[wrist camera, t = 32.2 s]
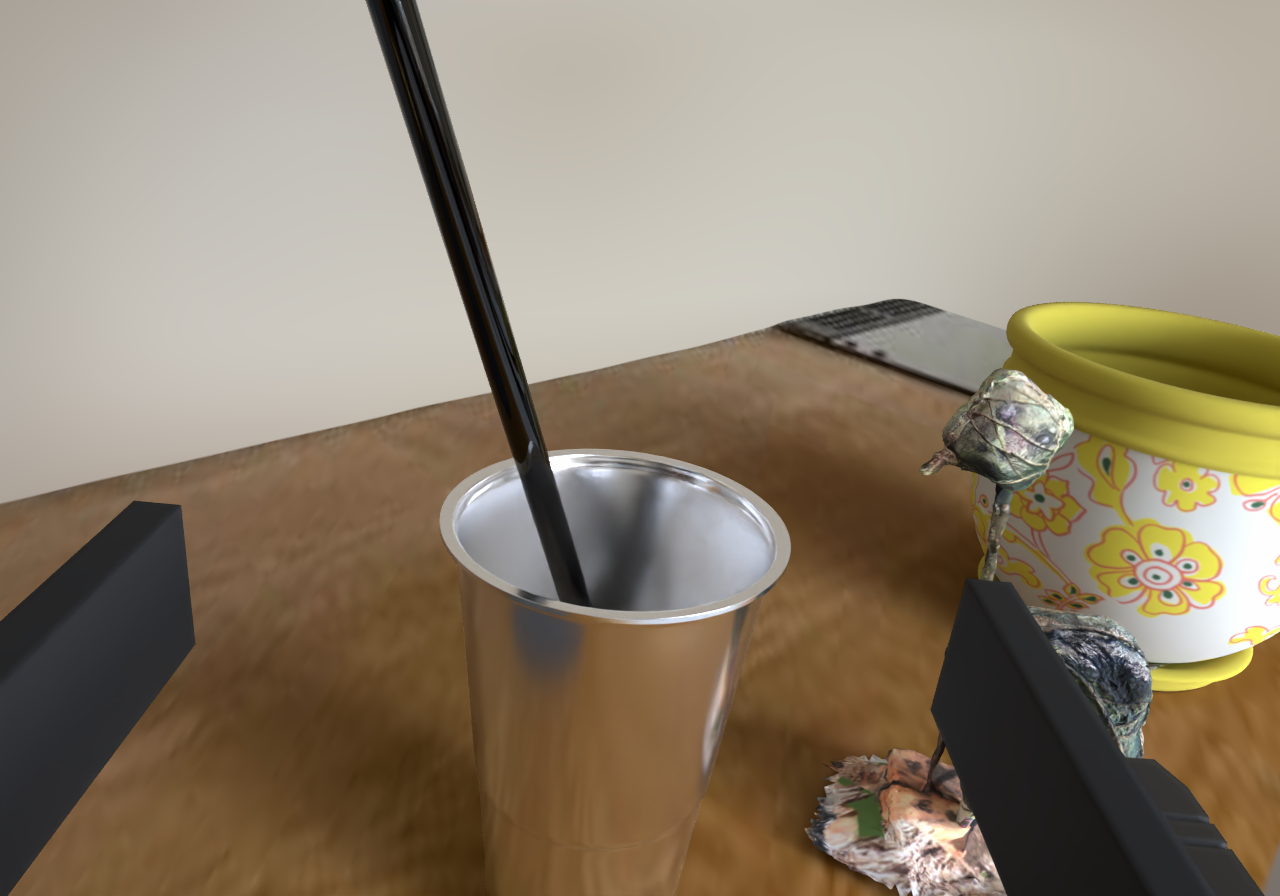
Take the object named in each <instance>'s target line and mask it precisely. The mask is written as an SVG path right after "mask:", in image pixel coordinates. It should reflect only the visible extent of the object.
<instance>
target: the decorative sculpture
mask: <svg viewBox="0 0 1280 896" xmlns="http://www.w3.org/2000/svg"><path fill="white" fill-rule="evenodd" d="M1073 430H1074V421H1073V417H1072V414H1071V413H1070V411H1069V409H1067V408H1064V407H1063V406H1062V405H1061V404H1060V403H1059V402H1058V401H1057V400H1055V399H1054V398H1053V397H1052V396H1051V395H1049V394H1045V393H1044V392H1043V391H1041V390H1040V389H1039V388H1038V387H1037V385H1036V384H1034V383H1033V382H1032V381H1031V380H1030V379H1029V378H1027V377H1026V375H1025V374H1024V373H1022V372H1020V371H1017V370H1007V369H997V370H995V371H994V372H992V373H991V375H990V376H989V377H988V378H986V380H985V381H984V382H983V383H982V385H981V386H980V388H979V390H978V392H977V393H976V394H975V395H973V396H972V397H971V398H970V399H969V400H968V401H967V402H966V403H965V404H964V405H962V406H961V407H960V408H959V409H958V410H957V412H955V413H954V415H953V416H952V418H951V419H950V420H949V421H948V423H947V424H946V426H945V427H944V429H943V430H942V432H943V435H942V437H943V441H944V443H945V444H944V449H943V450H942V451H940V452H935V453H934V454H933V457H932V459H931V460H930V461H928V462H927V463H925V464H924V465H922V466H921V468H920V470H919V471H920V472H921V474H922V475H932V474H934V473H936V472H938V471H939V470H940V469H941V468H942V467H943V465H954V466H957V467H961V470H966V471H971V472H974V473H977V474H979V475H981V476H984V477H986V478H988V479H989V480H990V481H991V482H993V483H995V484H996V487H995V492H996V494H995V501H994V504H993V505H992V507H993V512H992V515H991V526H990V529H989V535H988V539H987V540H988V543H989V545H988V548H987V552H986V557H985V565H984V567H983V568H982V572H981V579H980V580H990V581H992V580H993V577H994V574H995V571H996V566H997V551H998V550H999V549H1000V538H1001V535H1002V534H1003V532H1004V529H1005V526H1006V523H1007V519H1008V517H1009V516H1010V501H1011V499H1012V497H1013V496H1012V493H1013V492H1014V491H1020V490H1025V489H1027V488H1028V487H1029V486H1031V485H1032V484H1033V483H1034V482H1035V481H1036V480H1037V479H1038V478H1039V477H1042V476H1043V475H1044V474H1045V470H1047V469H1048V468H1049V466H1050V462H1051V461H1052V459H1053V456H1054V455H1055V454H1056V453H1057V452H1058V451H1060V450H1061V449H1062V448H1063V446H1064V445H1065V444H1066V442H1067V440H1068V439H1069V437H1070V435H1071V434H1072V432H1073ZM1027 607H1028V609H1029V610H1030V612H1031V613H1032V615H1033V616H1034V618H1035V620H1036V621H1037V623H1038V624H1039V626H1040V627H1041V629H1042V630H1043V632H1044V633H1045V635H1046V636H1047V638H1048V639H1049V641H1050V643H1051V644H1052V646H1053V647H1054V649H1055V650H1056V652H1057V653H1058V655H1059V656H1060V658H1061V659H1062V661H1063V662H1064V664H1065V665H1066V667H1067V669H1068V670H1069V672H1070V673H1071V675H1072V676H1073V678H1074V679H1075V681H1076V682H1077V684H1078V685H1079V687H1080V688H1081V690H1082V691H1083V693H1084V695H1085V696H1086V698H1087V699H1088V701H1089V702H1090V704H1091V705H1092V707H1093V708H1094V710H1095V711H1096V713H1097V714H1098V716H1099V717H1100V719H1101V721H1102V722H1103V724H1104V725H1105V727H1106V728H1107V730H1108V731H1109V733H1110V734H1111V736H1112V737H1113V739H1114V740H1115V742H1116V744H1117V745H1118V747H1119V748H1120V750H1121V751H1122V753H1123V754H1124V756H1125V757H1131V758H1142V757H1143V755H1144V751H1143V743H1144V738H1143V733H1142V729H1141V727H1142V726H1143V725H1144V724H1145V722H1146V719H1147V717H1148V715H1149V709H1150V704H1151V702H1152V697H1153V694H1152V688H1151V687H1152V676H1151V670H1154V669H1156V668H1157V667H1159V666H1163V665H1159V664H1154V665H1149V664H1148V662H1147V660H1146V657H1145V655H1144V652H1143V651H1142V650H1141V648H1140V647H1139V645H1138V642H1137V639H1136V638H1134V637H1133V636H1132V635H1131V634H1130V633H1129V632H1127V631H1126V630H1125V629H1124V628H1123V627H1122V626H1121V625H1120V624H1119V623H1117V622H1114V621H1113V620H1112V619H1111V618H1109V617H1107V616H1101V615H1096V614H1095V615H1092V614H1081V613H1078V612H1074V611H1071V612H1066V611H1059V610H1054V609H1047V608H1041V607H1036V606H1027ZM948 644H949V643H948ZM947 648H948V647H947ZM947 648H946V651H945V655H946V652H947ZM944 748H945V744H944V741H943V739H942V736H941V734H940V733H939V737H938V744H937V748H936V750H935V752H934V754H933V756H932V759H931V758H929V757H926V756H924V755H922V754H920V753H918V752H915V751H912V750H907V749H898V748H894V749H893V750H890V751H889V753H888V756H887V758H886V759H883V760H882V759H880V758H879V757H877V756H875V755H874V754H873V755H872V757H871V759H870V761H869V760H868V759H867V757H866V756H865V755H864V756H862V757H859V758H857V757H854V756H851V755H850V756H848V757H847V758H846V759H844V760H843V761H841V760H837V761H841V762H833V761H831V763H832V764H833V766H834V767H835V768H834V767H831V766H827V765H825V766H827V767H829V768H831V769H833V770H835V771H837V772H839V774H836V775H833V776H830V777H828V778H825V780H829V781H832V782H836V783H834V784H831V785H828V786H825V787H824V788H825V792H826V797H827V798H825V797H817V799H818V801H819V803H820V805H819V806H818V807H817V808H816V809H818V810H819V811H820V812H821V813H814V814H815V815H816V816H817V817H818V818H819V819H813V818H809V819H810V821H811V824H812V826H813V827H809V828H804V829H805V831H806V833H807V834H808V836H809V838H810V839H811V840H812V841H813V842H814V843H813V845H816V846H818V848H819V850H822V851H824V852H826V853H827V854H828V855H831V856H833V858H834V859H837V860H838V861H840V862H842V863H844V864H847V866H848V867H849V868H850V870H854V871H858V872H860V873H861V874H864V875H869V876H870V877H871V878H872V879H874V880H875V881H877V882H880V883H883V884H885V885H886V886H887V887H888V888H889V889H890V890H891V889H892V888H893V886H894V885H896V887H897V889H898V892H899V894H900V896H907V894H908V893H909V892H910V891H911V890H912V893H913V896H1007V894H1006V892H1005V889H1004V887H1003V885H1002V882H1001V880H1000V877H999V875H998V872H997V870H996V868H995V865H994V863H993V860H992V858H991V855H990V853H989V851H988V848H987V846H986V843H985V841H984V838H983V836H982V834H981V831H980V829H979V826H978V824H977V821H976V819H975V816H974V814H973V812H972V809H971V807H970V804H969V802H968V799H967V797H966V795H965V792H964V790H963V787H962V785H961V782H960V780H959V778H958V775H957V773H956V770H955V768H954V767H953V766H951V765H947V764H944V763H942V762H941V761H939V760H940V757H941V755H942V753H943V752H944ZM823 765H824V764H823ZM820 819H821V820H820Z"/></svg>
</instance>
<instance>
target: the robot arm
mask: <svg viewBox="0 0 1280 896" xmlns="http://www.w3.org/2000/svg"><path fill="white" fill-rule="evenodd" d="M194 645H195V637H194V627H193V617H192V607H191V598H190V588H189V578H188V569H187V559H186V549H185V539H184V530H183V520H182V510H181V505H174V504H163V503H152V502H142V501H133V502H132V503H131V504H130V505H129V506H128V507H127V508H125V509H124V510H123V511H122V512H121V513H120V514H119V515H118V516H117V517H115V518H114V519H113V520H112V521H111V522H110V523H109V524H108V525H107V526H105V527H104V528H103V529H102V530H101V531H100V532H99V533H98V534H97V535H96V536H94V537H93V538H92V539H91V540H90V541H89V542H88V543H87V544H86V545H84V546H83V547H82V548H81V549H80V550H79V551H78V552H77V553H76V554H74V555H73V556H72V557H71V558H70V559H69V560H68V561H67V562H66V563H65V564H63V565H62V566H61V567H60V568H59V569H58V570H57V571H56V572H55V573H53V574H52V575H51V576H50V577H49V578H48V579H47V580H46V581H45V582H43V583H42V584H41V585H40V586H39V587H38V588H37V589H36V590H35V591H34V592H32V593H31V594H30V595H29V596H28V597H27V598H26V599H25V600H24V601H22V602H21V603H20V604H19V605H18V606H17V607H16V608H15V609H14V610H12V611H11V612H10V613H9V614H8V615H7V616H6V617H5V618H4V619H3V620H1V621H0V896H8V894H9V893H10V892H11V890H12V889H13V888H14V886H15V885H16V884H17V882H18V881H19V880H20V878H21V877H22V876H23V874H24V873H25V872H26V870H27V869H28V868H29V866H30V865H31V864H32V862H33V861H34V860H35V858H36V857H37V856H38V854H39V853H40V852H41V850H42V849H43V848H44V846H45V845H46V844H47V842H48V841H49V840H50V838H51V837H52V835H53V834H54V833H55V831H56V830H57V829H58V827H59V826H60V825H61V823H62V822H63V821H64V819H65V818H66V817H67V815H68V814H69V813H70V811H71V810H72V809H73V807H74V806H75V805H76V803H77V802H78V801H79V799H80V798H81V797H82V795H83V794H84V793H85V791H86V790H87V789H88V787H89V786H90V785H91V783H92V782H93V781H94V779H95V778H96V777H97V775H98V774H99V773H100V771H101V770H102V769H103V767H104V766H105V765H106V763H107V762H108V761H109V759H110V758H111V757H112V755H113V754H114V752H115V751H116V750H117V748H118V747H119V746H120V744H121V743H122V742H123V740H124V739H125V738H126V736H127V735H128V734H129V732H130V731H131V730H132V728H133V727H134V726H135V724H136V723H137V722H138V720H139V719H140V718H141V716H142V715H143V714H144V712H145V711H146V710H147V708H148V707H149V706H150V704H151V703H152V702H153V700H154V699H155V698H156V696H157V695H158V694H159V692H160V691H161V690H162V688H163V687H164V686H165V684H166V683H167V682H168V680H169V679H170V678H171V676H172V675H173V673H174V672H175V671H176V669H177V668H178V667H179V665H180V664H181V663H182V661H183V660H184V659H185V657H186V656H187V655H188V653H189V652H190V651H191V649H192V648H193V647H194ZM931 712H932V714H933V717H934V719H935V722H936V724H937V727H938V729H939V731H940V734H941V736H942V739H943V741H944V744H945V746H946V748H947V751H948V753H949V756H950V758H951V761H952V763H953V765H954V768H955V770H956V773H957V775H958V778H959V780H960V782H961V785H962V787H963V790H964V792H965V795H966V797H967V799H968V802H969V804H970V807H971V809H972V812H973V814H974V816H975V819H976V821H977V824H978V826H979V829H980V831H981V834H982V836H983V838H984V841H985V843H986V846H987V848H988V851H989V853H990V855H991V858H992V860H993V863H994V865H995V868H996V870H997V872H998V875H999V877H1000V880H1001V882H1002V885H1003V887H1004V889H1005V892H1006V894H1007V896H1264V894H1263V893H1262V891H1261V890H1260V889H1259V887H1258V886H1257V884H1256V883H1255V882H1254V880H1253V879H1252V877H1251V876H1250V875H1249V873H1248V872H1247V870H1246V869H1245V868H1244V866H1243V865H1242V863H1241V862H1240V860H1239V859H1238V858H1237V856H1236V855H1235V853H1234V852H1233V851H1232V849H1228V848H1227V842H1226V841H1225V839H1224V838H1223V837H1222V835H1221V834H1220V832H1219V831H1218V829H1217V828H1216V827H1215V825H1214V824H1210V823H1209V817H1208V815H1207V814H1206V813H1205V811H1204V810H1203V808H1202V807H1201V806H1200V804H1199V803H1198V801H1197V800H1196V798H1195V797H1194V796H1193V794H1192V793H1191V791H1190V790H1189V789H1188V787H1187V786H1185V785H1184V784H1183V783H1182V782H1181V781H1179V780H1178V779H1177V778H1176V777H1175V776H1173V775H1172V774H1171V773H1170V772H1169V771H1167V770H1166V769H1165V768H1164V767H1163V766H1161V765H1160V764H1159V763H1158V762H1157V761H1155V760H1154V759H1143V758H1131V757H1125V756H1124V754H1123V753H1122V751H1121V750H1120V748H1119V747H1118V745H1117V744H1116V742H1115V740H1114V739H1113V737H1112V736H1111V734H1110V733H1109V731H1108V730H1107V728H1106V727H1105V725H1104V724H1103V722H1102V721H1101V719H1100V717H1099V716H1098V714H1097V713H1096V711H1095V710H1094V708H1093V707H1092V705H1091V704H1090V702H1089V701H1088V699H1087V698H1086V696H1085V695H1084V693H1083V691H1082V690H1081V688H1080V687H1079V685H1078V684H1077V682H1076V681H1075V679H1074V678H1073V676H1072V675H1071V673H1070V672H1069V670H1068V669H1067V667H1066V665H1065V664H1064V662H1063V661H1062V659H1061V658H1060V656H1059V655H1058V653H1057V652H1056V650H1055V649H1054V647H1053V646H1052V644H1051V643H1050V641H1049V639H1048V638H1047V636H1046V635H1045V633H1044V632H1043V630H1042V629H1041V627H1040V626H1039V624H1038V623H1037V621H1036V620H1035V618H1034V616H1033V615H1032V613H1031V612H1030V610H1029V609H1028V607H1027V606H1026V604H1025V603H1024V601H1023V600H1022V598H1021V597H1020V595H1019V594H1018V592H1017V590H1016V589H1015V587H1014V586H1013V584H1012V583H1011V582H1001V581H990V580H980V579H969V578H966V582H965V586H964V589H963V593H962V597H961V600H960V604H959V608H958V611H957V615H956V619H955V622H954V626H953V630H952V633H951V637H950V641H949V644H948V648H947V652H946V655H945V659H944V662H943V666H942V670H941V673H940V677H939V681H938V684H937V688H936V692H935V695H934V699H933V703H932V706H931Z"/></svg>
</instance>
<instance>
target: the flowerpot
mask: <svg viewBox="0 0 1280 896" xmlns="http://www.w3.org/2000/svg"><path fill="white" fill-rule="evenodd" d="M1006 333H1007V339H1008V341H1009V343H1010V345H1011V347H1012V348H1013V352H1012V355H1011V357H1010V358H1008V359H1007V361H1006V362H1005V363H1004V365H1003V369H1007V370H1017V371H1020V372H1022V373H1024V374H1025V375H1026V377H1027V378H1029V379H1030V380H1031V381H1032V382H1033V383H1034V384H1036V385H1037V387H1038V388H1039V389H1040V390H1041V391H1043V392H1044V393H1045V394H1049V395H1051V396H1052V397H1053V398H1054V399H1055V400H1057V401H1058V402H1059V403H1060V404H1061V405H1062V406H1063V407H1064V408H1067V409H1069V411H1070V413H1071V414H1072V417H1073V421H1074V430H1073V432H1072V434H1071V435H1070V437H1069V439H1068V440H1067V442H1066V444H1065V445H1064V446H1063V448H1062V449H1061V450H1060V451H1058V452H1057V453H1056V454H1055V455H1054V456H1053V459H1052V461H1051V462H1050V466H1049V468H1048V469H1047V470H1045V474H1044V475H1043V476H1042V477H1039V478H1038V479H1037V480H1036V481H1035V482H1034V483H1033V484H1032V485H1031V486H1029V487H1028V488H1027V489H1025V490H1020V491H1014V492H1013V493H1012V496H1013V497H1012V499H1011V501H1010V516H1009V517H1008V519H1007V523H1006V526H1005V529H1004V532H1003V534H1002V535H1001V538H1000V549H999V550H998V551H997V566H996V571H995V574H994V577H993V580H992V581H1001V582H1011V583H1012V584H1013V586H1014V587H1015V589H1016V590H1017V592H1018V594H1019V595H1020V597H1021V598H1022V600H1023V601H1024V603H1025V604H1026V606H1036V607H1041V608H1047V609H1054V610H1059V611H1066V612H1071V611H1074V612H1078V613H1081V614H1092V615H1095V614H1096V615H1101V616H1107V617H1109V618H1111V619H1112V620H1113V621H1114V622H1117V623H1119V624H1120V625H1121V626H1122V627H1123V628H1124V629H1125V630H1126V631H1127V632H1129V633H1130V634H1131V635H1132V636H1133V637H1134V638H1136V639H1137V642H1138V645H1139V647H1140V648H1141V650H1142V651H1143V652H1144V655H1145V657H1146V660H1147V662H1148V664H1149V665H1154V664H1159V665H1163V666H1159V667H1157V668H1156V669H1154V670H1151V676H1152V687H1151V688H1152V690H1155V691H1183V690H1191V689H1196V688H1200V687H1203V686H1206V685H1208V684H1210V683H1212V682H1216V681H1221V680H1225V679H1228V678H1230V677H1233V676H1235V675H1237V674H1239V673H1240V672H1241V671H1243V670H1244V669H1245V668H1246V667H1247V666H1248V664H1249V663H1250V661H1251V658H1252V655H1253V646H1254V645H1256V644H1258V643H1260V642H1262V641H1264V640H1266V639H1268V638H1270V637H1271V636H1273V635H1275V634H1276V633H1278V632H1279V631H1280V336H1277V335H1273V334H1269V333H1266V332H1262V331H1258V330H1254V329H1250V328H1246V327H1242V326H1238V325H1233V324H1229V323H1225V322H1220V321H1216V320H1211V319H1206V318H1201V317H1196V316H1190V315H1186V314H1180V313H1174V312H1168V311H1162V310H1156V309H1149V308H1141V307H1134V306H1125V305H1115V304H1104V303H1087V302H1055V303H1044V304H1037V305H1032V306H1028V307H1025V308H1022V309H1020V310H1019V311H1017V312H1015V313H1014V314H1013V315H1012V317H1011V318H1010V320H1009V322H1008V325H1007V331H1006ZM995 487H996V484H995V483H993V482H991V481H990V480H989V479H988V478H986V477H984V476H981V475H979V474H977V473H974V472H973V473H972V482H971V505H972V514H973V519H974V524H975V529H976V532H977V536H978V539H979V542H980V544H981V547H982V549H983V552H984V554H985V555H984V556H983V558H982V559H981V561H980V563H979V566H978V579H981V572H982V568H983V567H984V565H985V557H986V552H987V548H988V545H989V543H988V540H987V539H988V535H989V529H990V526H991V515H992V512H993V507H992V505H993V504H994V501H995V494H996V492H995Z"/></svg>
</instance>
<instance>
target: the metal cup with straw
mask: <svg viewBox="0 0 1280 896" xmlns="http://www.w3.org/2000/svg"><path fill="white" fill-rule="evenodd" d="M365 1H366V4H367V7H368V10H369V13H370V16H371V19H372V22H373V25H374V28H375V31H376V34H377V38H378V41H379V44H380V47H381V50H382V53H383V56H384V59H385V62H386V66H387V69H388V72H389V75H390V78H391V81H392V84H393V87H394V90H395V93H396V96H397V99H398V103H399V106H400V108H401V112H402V115H403V118H404V121H405V124H406V127H407V130H408V134H409V136H410V140H411V143H412V146H413V149H414V152H415V155H416V158H417V162H418V164H419V168H420V171H421V174H422V177H423V180H424V183H425V186H426V189H427V192H428V195H429V198H430V201H431V205H432V208H433V211H434V214H435V217H436V220H437V223H438V226H439V230H440V233H441V236H442V239H443V242H444V245H445V248H446V251H447V254H448V257H449V260H450V264H451V267H452V270H453V273H454V276H455V279H456V282H457V285H458V288H459V291H460V295H461V298H462V301H463V304H464V307H465V310H466V313H467V316H468V319H469V322H470V326H471V329H472V332H473V335H474V338H475V341H476V344H477V347H478V350H479V353H480V356H481V360H482V363H483V366H484V369H485V372H486V375H487V378H488V381H489V384H490V387H491V390H492V394H493V397H494V400H495V403H496V406H497V409H498V412H499V415H500V418H501V422H502V425H503V428H504V431H505V434H506V437H507V440H508V443H509V446H510V449H511V452H512V456H513V458H511V459H508V460H504V461H501V462H498V463H496V464H493V465H491V466H488V467H486V468H484V469H482V470H480V471H478V472H476V473H474V474H472V475H471V476H469V477H468V478H466V479H465V480H463V481H462V482H461V483H460V484H458V485H457V486H456V487H455V488H454V489H453V490H452V492H451V493H450V494H449V495H448V497H447V498H446V500H445V502H444V504H443V506H442V509H441V513H440V534H441V538H442V542H443V544H444V546H445V548H446V550H447V552H448V553H449V555H450V556H451V558H452V559H453V560H454V561H455V563H456V564H457V565H458V570H459V581H460V593H461V604H462V616H463V627H464V639H465V651H466V662H467V674H468V686H469V698H470V709H471V721H472V733H473V745H474V758H475V767H476V772H477V776H478V779H479V786H480V798H481V812H482V826H483V840H484V854H485V869H486V882H487V893H488V896H675V893H676V890H677V886H678V882H679V879H680V875H681V872H682V868H683V864H684V861H685V857H686V853H687V850H688V846H689V842H690V839H691V835H692V831H693V828H694V824H695V821H696V817H697V814H698V810H699V806H700V803H701V801H702V799H703V797H704V795H705V793H706V790H707V788H708V785H709V781H710V778H711V774H712V771H713V767H714V764H715V760H716V757H717V753H718V750H719V746H720V743H721V740H722V736H723V733H724V729H725V726H726V722H727V719H728V715H729V712H730V708H731V705H732V702H733V698H734V695H735V691H736V688H737V684H738V681H739V677H740V674H741V671H742V667H743V664H744V660H745V657H746V653H747V650H748V647H749V643H750V640H751V636H752V633H753V629H754V626H755V623H756V619H757V616H758V612H759V609H760V606H761V602H762V599H763V596H764V594H766V593H767V592H768V591H770V590H771V589H772V588H773V587H774V586H775V585H776V584H777V583H778V582H779V580H780V579H781V578H782V576H783V575H784V573H785V571H786V569H787V566H788V563H789V559H790V553H791V542H790V537H789V533H788V531H787V528H786V526H785V524H784V523H783V521H782V520H781V518H780V517H779V515H778V514H777V513H776V512H775V511H774V510H773V509H772V507H771V506H769V505H768V504H767V503H766V502H765V501H764V500H763V499H761V498H760V497H759V496H758V495H756V494H755V493H753V492H752V491H750V490H749V489H747V488H746V487H744V486H742V485H740V484H739V483H737V482H735V481H733V480H731V479H729V478H727V477H725V476H722V475H720V474H718V473H715V472H713V471H710V470H708V469H705V468H702V467H699V466H696V465H693V464H690V463H686V462H683V461H679V460H675V459H671V458H667V457H662V456H657V455H651V454H646V453H639V452H631V451H622V450H608V449H568V450H555V451H547V449H546V445H545V442H544V438H543V435H542V431H541V428H540V424H539V421H538V418H537V414H536V411H535V407H534V404H533V400H532V397H531V394H530V390H529V387H528V383H527V380H526V376H525V373H524V370H523V366H522V363H521V359H520V356H519V353H518V349H517V346H516V342H515V339H514V335H513V332H512V328H511V325H510V322H509V318H508V314H507V311H506V308H505V305H504V301H503V297H502V294H501V290H500V287H499V284H498V281H497V277H496V273H495V270H494V266H493V263H492V260H491V256H490V253H489V249H488V246H487V242H486V239H485V235H484V232H483V229H482V225H481V222H480V218H479V215H478V212H477V208H476V204H475V201H474V198H473V194H472V191H471V187H470V184H469V180H468V177H467V174H466V171H465V167H464V163H463V160H462V157H461V153H460V149H459V146H458V143H457V139H456V136H455V132H454V129H453V126H452V122H451V119H450V115H449V112H448V108H447V105H446V101H445V98H444V94H443V91H442V88H441V84H440V81H439V77H438V74H437V70H436V67H435V64H434V60H433V57H432V53H431V50H430V46H429V43H428V39H427V36H426V33H425V29H424V26H423V22H422V19H421V15H420V12H419V9H418V5H417V2H416V0H365Z"/></svg>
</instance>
